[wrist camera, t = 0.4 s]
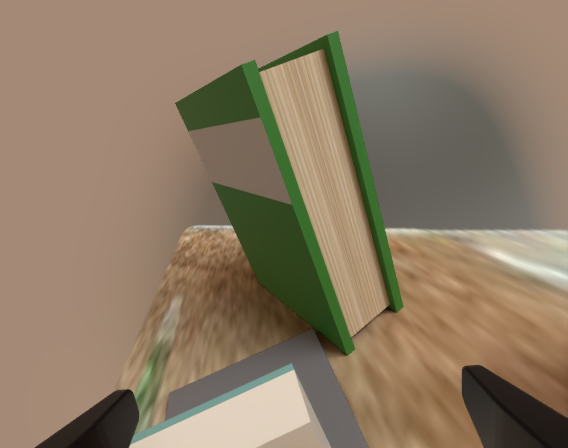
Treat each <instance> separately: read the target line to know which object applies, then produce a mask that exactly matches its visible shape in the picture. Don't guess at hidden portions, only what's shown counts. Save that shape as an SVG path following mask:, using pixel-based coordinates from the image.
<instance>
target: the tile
mask: <svg viewBox="0 0 568 448" xmlns="http://www.w3.org/2000/svg"><path fill="white" fill-rule="evenodd" d="M129 448H332V447H331V444H330V442H329V440H328V438H327V436H326V434H325V432H324V430H323V428H322V425H321V423H320V421H319V419H318V417H317V415H316V413H315V411H314V409H313V406H312V404H311V402H310V400H309V398H308V396H307V394H306V392H305V390H304V388H303V385H302V383H301V381H300V379H299V377H298V375H297V373H296V371H295V369H294V366H293V364H292V363H291V364H289V365H287V366H284V367H282V368H280V369H278V370H276V371H273V372H271V373H269V374H267V375H265V376H263V377H260V378H258V379H256V380H254V381H252V382H249V383H247V384H245V385H243V386H241V387H238V388H236V389H234V390H232V391H230V392H228V393H225V394H223V395H221V396H219V397H217V398H214V399H212V400H210V401H208V402H206V403H203V404H201V405H199V406H197V407H195V408H193V409H190V410H188V411H186V412H184V413H182V414H179V415H177V416H175V417H173V418H171V419H169V420H166V421H164V422H162V423H160V424H158V425H155V426H153V427H151V428H149V429H147V430H144V431H142V432H140V433H138V434H136V435H134V436H133V438H132V441H131V444H130V447H129Z"/></svg>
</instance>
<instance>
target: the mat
mask: <svg viewBox="0 0 568 448" xmlns="http://www.w3.org/2000/svg"><path fill="white" fill-rule="evenodd" d="M291 363H292V364H293V366H294V369H295V371H296V373H297V375H298V377H299V379H300V381H301V383H302V385H303V388H304V390H305V392H306V394H307V396H308V398H309V400H310V402H311V404H312V406H313V409H314V411H315V413H316V415H317V417H318V419H319V421H320V423H321V425H322V428H323V430H324V432H325V434H326V436H327V438H328V440H329V442H330V444H331V447H332V448H369V447H368V445H367V443H366V441H365V439H364V436H363V434H362V432H361V430H360V428H359V426H358V423H357V421H356V419H355V417H354V415H353V413H352V411H351V408H350V406H349V404H348V402H347V400H346V398H345V395H344V393H343V391H342V389H341V387H340V385H339V382H338V380H337V378H336V376H335V374H334V372H333V370H332V367H331V365H330V363H329V361H328V359H327V357H326V354H325V352H324V350H323V348H322V346H321V344H320V341H319V339H318V337H317V335H316V333H315V331H314V329H313V328H312V329H310V330H308V331H306V332H304V333H301V334H299V335H297V336H295V337H292V338H290V339H288V340H286V341H284V342H281V343H279V344H277V345H275V346H273V347H270V348H268V349H266V350H264V351H261V352H259V353H257V354H255V355H253V356H250V357H248V358H246V359H244V360H242V361H239V362H237V363H235V364H233V365H230V366H228V367H226V368H224V369H222V370H219V371H217V372H215V373H213V374H210V375H208V376H206V377H204V378H202V379H199V380H197V381H195V382H193V383H191V384H188V385H186V386H184V387H182V388H179V389H177V390H175V391H173V392H171V393H169V399H168V406H167V413H166V420H169V419H171V418H173V417H175V416H177V415H179V414H182V413H184V412H186V411H188V410H190V409H193V408H195V407H197V406H199V405H201V404H203V403H206V402H208V401H210V400H212V399H214V398H217V397H219V396H221V395H223V394H225V393H228V392H230V391H232V390H234V389H236V388H238V387H241V386H243V385H245V384H247V383H249V382H252V381H254V380H256V379H258V378H260V377H263V376H265V375H267V374H269V373H271V372H273V371H276V370H278V369H280V368H282V367H284V366H287V365H289V364H291ZM166 420H165V421H166Z"/></svg>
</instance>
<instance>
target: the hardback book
mask: <svg viewBox="0 0 568 448" xmlns="http://www.w3.org/2000/svg"><path fill="white" fill-rule="evenodd" d="M175 104H176V106H177V108H178V110H179V113H180V115H181V116H182V119H183V121H184V123H185V125H186V127H187V130H188V132H189V134H190V136H191V138H192V140H193V142H194V145H195V146H196V149H197V151H198V153H199V155H200V157H201V160H202V162H203V164H204V166H205V168H206V170H207V172H208V175H209V177H210V179H211V181H212V183H213V185H214V187H215V190H216V192H217V194H218V196H219V198H220V200H221V202H222V205H223V207H224V209H225V211H226V213H227V215H228V217H229V220H230V222H231V224H232V226H233V228H234V230H235V233H236V235H237V237H238V239H239V241H240V243H241V245H242V248H243V250H244V252H245V254H246V256H247V258H248V260H249V263H250V265H251V267H252V269H253V271H254V273H255V275H256V278H257V280H258V282H259V283H260V284H261V285H262V286H263V287H264V288H266V289H267V290H268V291H269V292H271V293H272V294H273V295H274V296H275V297H277V298H278V299H279V300H280V301H281V302H283V303H284V304H285V305H286V306H288V307H289V308H290V309H291V310H292V311H294V312H295V313H296V314H297V315H298V316H300V317H301V318H302V319H303V320H304V321H306V322H307V323H308V324H309V325H311V326H312V327H313V328H314V329H315V330H317V331H318V332H319V333H320V334H321V335H323V336H324V337H325V338H326V339H328V340H329V341H330V342H331V343H332V344H334V345H335V346H336V347H337V348H338V349H340V350H341V351H342V352H343V353H345V354H346V355H347V356H348V355H349V354H350V353H351V352H352V351H353V350H355V348H354V345H353V342H352V339H351V337H352V336H353V335H354V334H356V333H357V332H358V331H359V330H360V329H361V328H363V327H364V326H365V325H366V324H367V323H369V322H370V321H371V320H372V319H373V318H374V317H376V316H377V315H378V314H379V313H380V312H382V311H383V310H384V309H385V308H386V307H388V308H390V309H391V310H393V311H395V312H398V311H399V310H400V309H401V308H403V303H402V299H401V295H400V291H399V286H398V282H397V278H396V274H395V270H394V265H393V261H392V257H391V253H390V248H389V244H388V240H387V236H386V232H385V227H384V223H383V219H382V215H381V211H380V206H379V202H378V198H377V194H376V189H375V185H374V181H373V177H372V173H371V168H370V164H369V160H368V156H367V152H366V147H365V143H364V139H363V135H362V130H361V126H360V122H359V118H358V114H357V109H356V105H355V101H354V97H353V93H352V88H351V84H350V80H349V76H348V71H347V67H346V63H345V59H344V54H343V51H342V46H341V42H340V38H339V33H338V31H336V32H334V33H331V34H328V35H326V36H324V37H322V38H320V39H318V40H316V41H313V42H311V43H310V44H308V45H305V46H303V47H302V48H299V49H297V50H295V51H293V52H291V53H289V54H287V55H285V56H283V57H281V58H279V59H277V60H275V61H273V62H271V63H269V64H267V65H265V66H263V67H261V68H259V69H258V67H257V64H256V62H255V60H253V61H251V62H248V63H245V64H242V65H240V66H238V67H236V68H235V69H233V70H231V71H230V72H228V73H226V74H224V75H223V76H221V77H219V78H218V79H216V80H214V81H212V82H211V83H209V84H208V85H205V86H204V87H202V88H201V89H199V90H197V91H195V92H193V93H192V94H190V95H188V96H187V97H185V98H183V99H181V100H180V101H178V102H176V103H175Z"/></svg>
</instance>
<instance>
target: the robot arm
mask: <svg viewBox="0 0 568 448" xmlns="http://www.w3.org/2000/svg"><path fill="white" fill-rule="evenodd" d="M462 397H463V400H464V403H465V405H466V408H467V410H468V412H469V414H470V417H471V419H472V421H473V423H474V426H475V428H476V430H477V433H478V435H479V437H480V439H481V442H482V444H483V446H484V448H568V418H567V417H565V416H563V415H562V414H560V413H558V412H557V411H555V410H553V409H552V408H550V407H549V406H547V405H545V404H544V403H542V402H540V401H539V400H537V399H535V398H534V397H532V396H531V395H529V394H527V393H526V392H524V391H522V390H521V389H519V388H517V387H516V386H514V385H512V384H511V383H509V382H508V381H506V380H504V379H503V378H501V377H499V376H498V375H496V374H494V373H493V372H491V371H489V370H488V369H486V368H485V367H483V366H481V365H470V366H464V367H463V369H462ZM138 422H139V410H138V406H137V403H136V400H135V397H134V394H133V392H132V391H131V390H129V389H126V390H117V391H114V392H113V393H111V394H110V395H109V396H107V397H106V398H104V399H103V400H102V401H100V402H99V403H97V404H96V405H94V406H93V407H92V408H90V409H89V410H88V411H86V412H85V413H83V414H82V415H80V416H79V417H77V418H76V419H75V420H73V421H72V422H70V423H69V424H67V425H66V426H65V427H63V428H62V429H61V430H59V431H58V432H56V433H55V434H53V435H52V436H50V437H49V438H48V439H46V440H45V441H43V442H42V443H41V444H39V445H38V446H36V447H35V448H129V447H130V444H131V441H132V438H133V436H134V433H135V430H136V427H137V425H138Z"/></svg>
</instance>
